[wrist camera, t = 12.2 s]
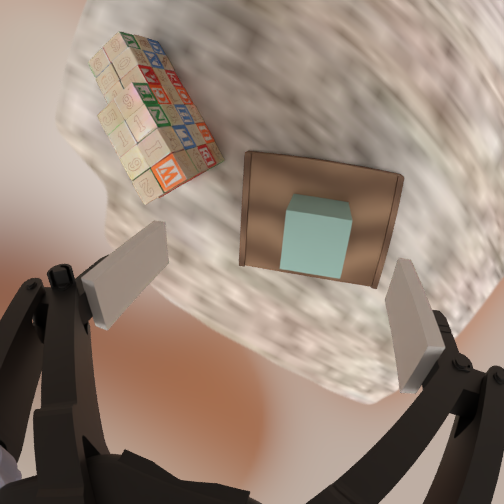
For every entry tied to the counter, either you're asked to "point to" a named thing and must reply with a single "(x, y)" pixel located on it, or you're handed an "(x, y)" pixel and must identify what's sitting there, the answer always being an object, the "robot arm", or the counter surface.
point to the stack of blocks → (151, 117)
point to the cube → (316, 235)
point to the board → (323, 186)
